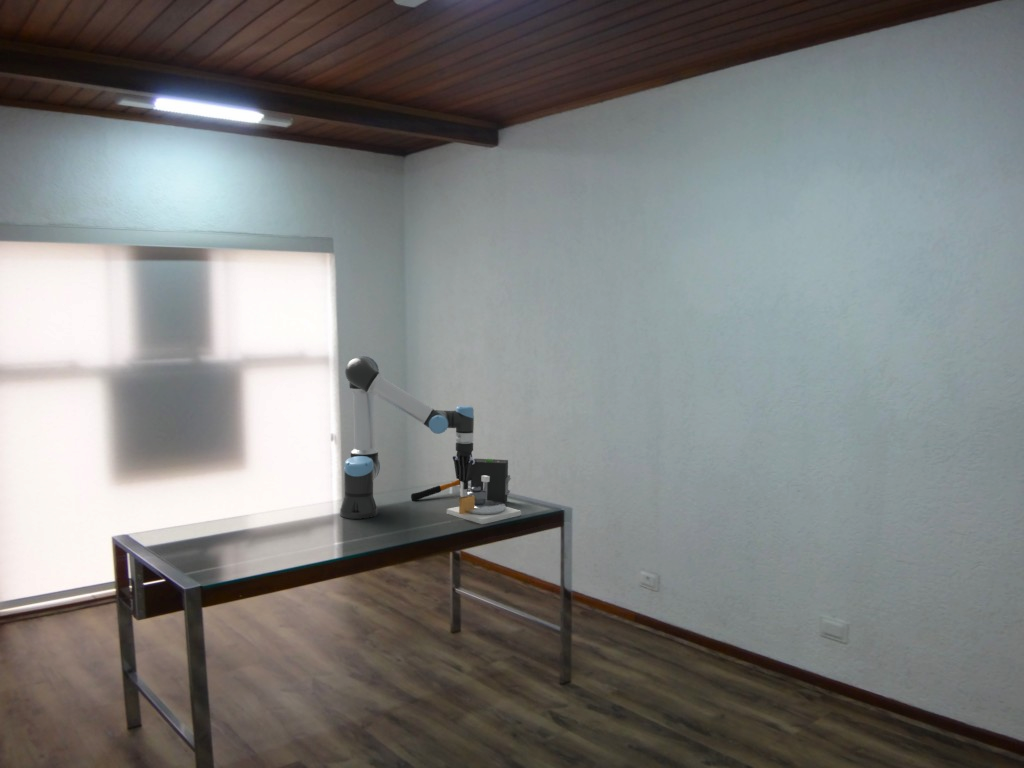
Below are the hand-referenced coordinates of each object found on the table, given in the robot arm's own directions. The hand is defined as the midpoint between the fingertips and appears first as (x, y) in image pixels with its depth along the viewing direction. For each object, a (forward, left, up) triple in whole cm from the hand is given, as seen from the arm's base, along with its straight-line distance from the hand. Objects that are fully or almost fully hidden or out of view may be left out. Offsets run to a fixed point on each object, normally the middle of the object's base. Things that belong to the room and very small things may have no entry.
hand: (463, 496), depth 348 cm
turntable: (+13, -2, -3) cm, 14 cm away
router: (-1, +16, -6) cm, 17 cm away
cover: (+8, 0, -2) cm, 8 cm away
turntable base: (+13, 0, -6) cm, 14 cm away
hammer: (-24, +6, -6) cm, 25 cm away
